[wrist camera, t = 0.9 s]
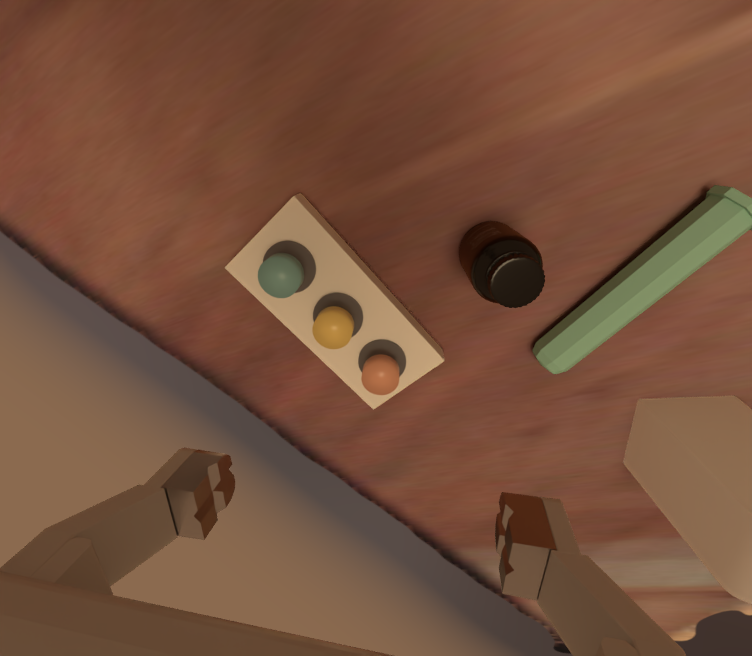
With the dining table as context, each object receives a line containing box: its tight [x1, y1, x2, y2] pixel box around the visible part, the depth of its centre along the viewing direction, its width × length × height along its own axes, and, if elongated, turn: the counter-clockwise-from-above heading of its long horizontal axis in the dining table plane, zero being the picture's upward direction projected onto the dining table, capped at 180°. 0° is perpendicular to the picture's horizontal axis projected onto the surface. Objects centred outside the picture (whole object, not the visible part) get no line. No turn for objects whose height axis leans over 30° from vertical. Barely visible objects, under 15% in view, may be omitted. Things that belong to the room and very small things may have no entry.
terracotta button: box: [361, 354, 399, 395], centre depth 44 cm, size 4×4×2 cm
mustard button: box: [312, 306, 354, 349], centre depth 42 cm, size 4×4×2 cm
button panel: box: [225, 193, 445, 409], centre depth 46 cm, size 26×12×4 cm, turn 42°
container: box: [532, 185, 752, 374], centre depth 42 cm, size 6×6×25 cm
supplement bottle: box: [459, 221, 545, 308], centre depth 38 cm, size 7×7×12 cm
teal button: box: [258, 253, 304, 298], centre depth 40 cm, size 4×4×2 cm
